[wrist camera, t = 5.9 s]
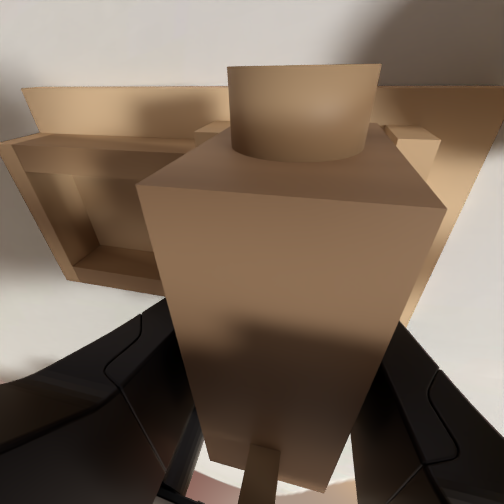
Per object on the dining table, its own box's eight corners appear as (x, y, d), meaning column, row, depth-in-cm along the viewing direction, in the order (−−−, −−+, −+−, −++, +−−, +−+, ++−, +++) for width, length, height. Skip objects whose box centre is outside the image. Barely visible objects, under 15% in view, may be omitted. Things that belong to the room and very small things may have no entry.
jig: (401, 313, 14) (415, 365, 11) (113, 269, 17) (78, 302, 15) (500, 85, 8) (570, 94, 6) (42, 86, 12) (-34, 92, 9)
